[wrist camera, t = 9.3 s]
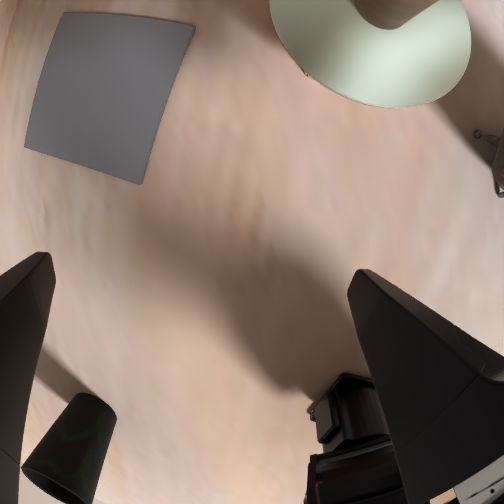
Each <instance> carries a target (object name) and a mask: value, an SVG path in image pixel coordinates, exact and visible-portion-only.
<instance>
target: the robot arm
mask: <svg viewBox="0 0 504 504" xmlns="http://www.w3.org/2000/svg"><path fill="white" fill-rule="evenodd" d="M55 284H56V276H55V271H54V267H53V262H52V257H51V255H50V253H48V252H35V253H34V254H32V255H31V256H29V257H28V258H26V259H25V260H23V261H21V262H20V263H18V264H17V265H15V266H14V267H12V268H11V269H9V270H8V271H6V272H5V273H3V274H2V275H1V276H0V504H18V492H19V474H20V460H21V450H22V442H23V434H24V427H25V421H26V415H27V409H28V403H29V398H30V393H31V388H32V384H33V379H34V375H35V370H36V366H37V362H38V358H39V354H40V350H41V347H42V343H43V339H44V336H45V332H46V328H47V323H48V317H49V312H50V307H51V302H52V298H53V293H54V289H55ZM347 297H348V301H349V305H350V309H351V313H352V317H353V320H354V324H355V328H356V332H357V336H358V339H359V342H360V345H361V348H362V351H363V354H364V356H365V359H366V362H367V365H368V368H369V371H370V374H371V377H372V379H369V378H364V377H360V376H356V375H352V374H347V373H344V374H341V375H340V376H339V377H338V379H337V380H336V382H335V383H334V384H333V386H332V387H331V388H330V390H329V391H328V392H326V394H325V395H324V396H323V398H322V399H321V400H320V402H319V403H318V404H317V405H316V407H315V408H314V411H313V412H312V413H311V414H310V420H311V421H314V422H316V429H317V439H318V442H319V443H321V444H322V445H323V453H322V454H318V455H317V454H313V455H310V463H309V464H308V478H307V490H306V494H305V498H304V504H430V499H432V498H435V497H436V496H438V495H440V494H442V493H444V492H446V491H448V490H450V489H451V488H453V489H454V491H455V493H456V497H454V498H452V499H451V500H449V501H447V502H446V503H444V504H504V356H502V355H500V354H499V353H497V352H496V351H494V350H492V349H491V348H489V347H488V346H486V345H484V344H483V343H481V342H480V341H478V340H477V339H475V338H473V337H472V336H470V335H469V334H467V333H466V332H464V331H463V330H462V329H460V328H459V327H457V326H456V325H453V323H451V322H450V321H448V320H447V319H445V318H444V317H442V316H441V315H439V314H438V313H436V312H435V311H433V310H432V309H430V308H429V307H427V306H426V305H424V304H423V303H421V302H420V301H418V300H417V299H415V298H414V297H412V296H411V295H409V294H407V293H406V292H404V291H403V290H401V289H400V288H398V287H397V286H395V285H393V284H392V283H390V282H389V281H387V280H386V279H384V278H382V277H381V276H379V275H378V274H376V273H375V272H373V271H371V270H369V269H358V270H357V271H356V272H355V274H354V276H353V279H352V281H351V283H350V285H349V288H348V291H347ZM345 378H346V379H345Z"/></svg>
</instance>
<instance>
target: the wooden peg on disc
mask: <svg viewBox="0 0 504 504" xmlns="http://www.w3.org/2000/svg"><path fill="white" fill-rule="evenodd" d="M269 2H270V13H271V17H272V22H273V25H274V27H275V30H276V32H277V35H278V37H279V38H280V40H281V42H282V44H283V46H284V47H285V49H286V50H287V51H288V53H289V54H290V56H291V57H292V58H293V59H294V60H295V61H296V63H297V64H298V65H299V66H300V67H301V68H302V69H303V70H304V71H305V72H306V73H308V74H309V75H310V76H311V77H312V78H313V79H315V80H316V81H318V82H319V83H320V84H322V85H323V86H325V87H326V88H328V89H330V90H331V91H333V92H335V93H336V94H339V95H341V96H343V97H345V98H347V99H350V100H353V101H356V102H358V103H361V104H365V105H370V106H374V107H382V108H405V107H413V106H419V105H424V104H427V103H430V102H433V101H435V100H437V99H439V98H441V97H443V96H444V95H445V94H447V93H448V92H449V91H451V90H452V89H453V88H454V87H455V86H456V85H457V83H458V82H459V81H460V79H461V78H462V76H463V74H464V72H465V70H466V68H467V65H468V62H469V58H470V52H471V32H470V26H469V21H468V18H467V14H466V11H465V9H464V7H463V4H462V2H461V0H269Z"/></svg>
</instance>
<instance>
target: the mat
mask: <svg viewBox="0 0 504 504" xmlns="http://www.w3.org/2000/svg"><path fill="white" fill-rule="evenodd" d="M195 28H196V27H195V26H192V25H187V24H182V23H176V22H170V21H164V20H158V19H151V18H144V17H136V16H127V15H116V14H103V13H81V12H63V15H62V17H61V19H60V22H59V24H58V27H57V29H56V32H55V35H54V37H53V40H52V43H51V45H50V48H49V51H48V54H47V57H46V60H45V63H44V66H43V69H42V73H41V76H40V79H39V83H38V86H37V90H36V94H35V98H34V102H33V106H32V110H31V114H30V119H29V123H28V128H27V133H26V139H25V144H24V147H25V148H28V149H31V150H35V151H38V152H41V153H44V154H47V155H50V156H54V157H57V158H60V159H63V160H66V161H69V162H72V163H75V164H79V165H82V166H85V167H88V168H91V169H94V170H97V171H100V172H103V173H106V174H109V175H112V176H115V177H118V178H121V179H124V180H127V181H130V182H133V183H136V184H139V185H141V184H142V182H143V178H144V175H145V171H146V167H147V164H148V160H149V157H150V153H151V150H152V146H153V143H154V140H155V137H156V133H157V130H158V127H159V124H160V121H161V118H162V115H163V112H164V109H165V106H166V103H167V100H168V97H169V94H170V92H171V89H172V86H173V83H174V81H175V78H176V75H177V73H178V70H179V67H180V65H181V62H182V60H183V57H184V55H185V52H186V50H187V47H188V45H189V43H190V40H191V38H192V35H193V33H194V31H195Z"/></svg>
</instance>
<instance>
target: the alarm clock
mask: <svg viewBox="0 0 504 504" xmlns="http://www.w3.org/2000/svg"><path fill="white" fill-rule="evenodd" d="M474 135H475V137H476V138H481V139H483V140H484V141H486V142H488V143H489V144H491V145H492V146H494V147H496V148H498V150H497V153H496V156H495V159H494V161H493V166H492V171H493V175H494V178H495V180H496V182H497V183H498V185H499V186H500V187H501V188H502V189H503V190H504V130H503V134H502V137H501V139H498V138H496V137H494V136H491V135H487V134H483V133H481V131H479V130H476V131H474ZM498 197H500V198H503V197H504V192H501V193H499V194H498Z"/></svg>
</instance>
